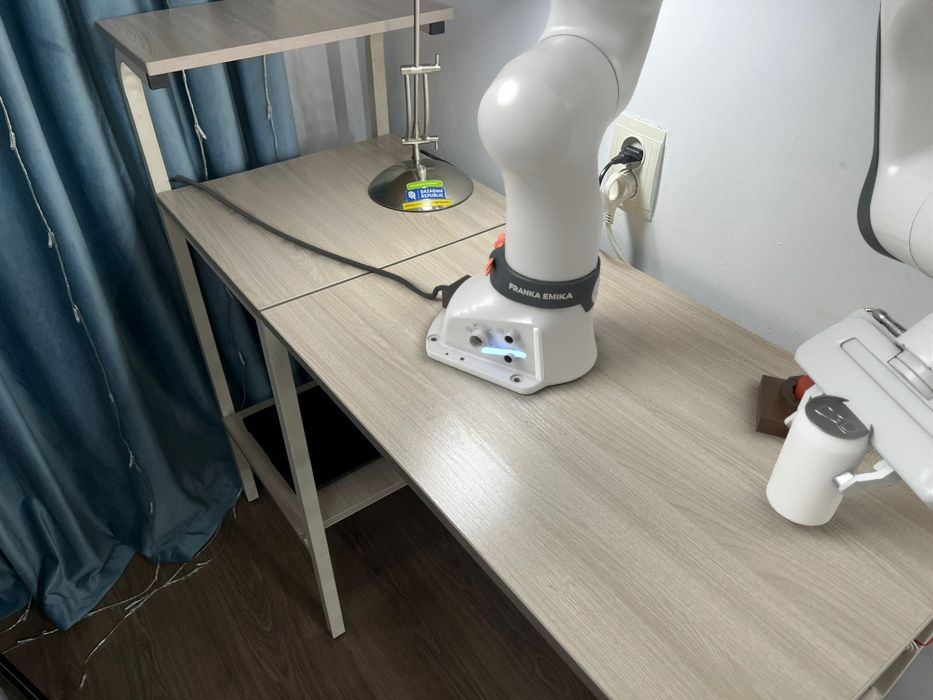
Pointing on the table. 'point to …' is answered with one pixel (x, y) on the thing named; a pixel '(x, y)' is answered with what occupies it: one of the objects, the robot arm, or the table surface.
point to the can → (816, 460)
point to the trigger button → (803, 386)
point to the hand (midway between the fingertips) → (813, 458)
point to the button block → (776, 404)
